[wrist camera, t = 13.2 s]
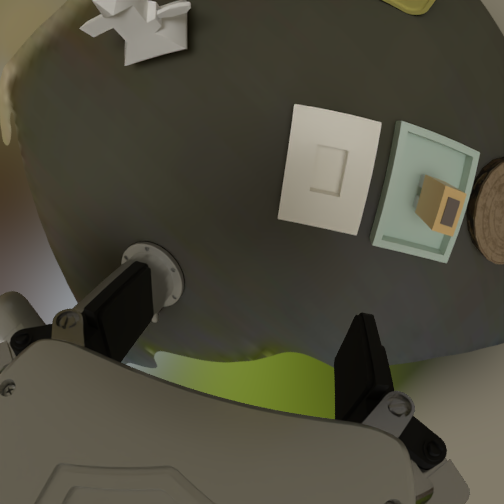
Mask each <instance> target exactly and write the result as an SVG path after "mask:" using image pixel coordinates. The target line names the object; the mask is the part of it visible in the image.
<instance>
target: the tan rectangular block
mask: <svg viewBox="0 0 504 504" xmlns="http://www.w3.org/2000/svg"><path fill="white" fill-rule="evenodd" d="M419 187H421V188H422V190H421V193H420V196H419V195H416V197H415V200H414V204H413V207H414V208H415V209H416V211H415V213H416V214H417V215H418V216H419V217H420V218H421V219H422V220H423V221H424V222H425V223H426V224H427V225H428V227H429V228H430V229H431V230H433V231H436V232H439V233H442V234H446V235H449V236H452V237H453V235H454V232H455V229H456V227H457V224H458V221H459V218H460V215H461V212H462V208H463V205H464V202H465V198H466V195H467V194H466V193H464V192H463V191H461V190H459V189H457V188H456V187H454V186H452V185H450V184H448V183H447V182H445V181H442V180H440V179H437V178H434V177H431V176H429V175H426V174H425V175H422V174H421V178H420V182H419Z"/></svg>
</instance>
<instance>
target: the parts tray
mask: <svg viewBox="0 0 504 504" xmlns="http://www.w3.org/2000/svg"><path fill="white" fill-rule="evenodd" d="M479 155H480V152H478V151H476V150H474V149H471V148H469V147H467V146H465V145H463V144H461V143H458V142H456V141H454V140H452V139H449V138H447V137H444V136H442V135H439V134H437V133H434V132H432V131H429V130H427V129H424V128H421V127H418V126H415V125H413V124H410V123H407V122H404V121H396V123H395V130H394V135H393V141H392V146H391V152H390V157H389V162H388V166H387V171H386V175H385V180H384V184H383V188H382V192H381V196H380V200H379V204H378V208H377V212H376V216H375V219H374V223H373V226H372V230H371V233H370V237H369V238H370V241H371V243H372V245H373V246H378V247H382V248H386V249H391V250H395V251H399V252H403V253H407V254H411V255H416V256H420V257H424V258H428V259H432V260H436V261H440V262H443V263H447V261H448V259H449V256H450V254H451V251H452V248H453V246H454V243H455V241H456V238H457V235H458V232H459V229H460V226H461V223H462V220H463V217H464V214H465V211H466V208H467V204H468V201H469V197H470V194H471V190H472V186H473V182H474V178H475V174H476V169H477V165H478V160H479ZM421 174H422V175H425V174H426V175H429V176H431V177H434V178H437V179H440V180H442V181H445V182H447V183H448V184H450V185H452V186H454V187H456V188H457V189H459V190H461V191H463V192H464V193H466V194H467V195H466V198H465V202H464V205H463V208H462V212H461V215H460V218H459V221H458V224H457V227H456V229H455V232H454V235H453V237H452V236H449V235H446V234H442V233H439V232H436V231H433V230H431V229H430V228H429V227H428V225H427V224H426V223H425V222H424V221H423V220H422V219H421V218H420V217H419V216H418V215H417V214H416V213H415V211H416V209H415V208H414V207H413V204H414V200H415V197H416V195H419V196H420V193H421V190H422V188H421V187H419V182H420V178H421Z"/></svg>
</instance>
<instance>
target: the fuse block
mask: <svg viewBox="0 0 504 504" xmlns="http://www.w3.org/2000/svg"><path fill="white" fill-rule="evenodd" d="M381 124H382V123H380V122H377V121H373V120H370V119H366V118H362V117H358V116H354V115H349V114H345V113H341V112H336V111H331V110H326V109H321V108H316V107H310V106H304V105H298V104H294V110H293V117H292V125H291V132H290V139H289V146H288V153H287V160H286V167H285V173H284V180H283V187H282V193H281V200H280V206H279V212H278V219H281V220H286V221H291V222H296V223H301V224H306V225H310V226H315V227H320V228H325V229H329V230H334V231H339V232H343V233H348V234H352V235H357V233H358V229H359V225H360V222H361V218H362V214H363V210H364V206H365V202H366V198H367V194H368V190H369V185H370V181H371V176H372V172H373V167H374V162H375V157H376V152H377V147H378V141H379V136H380V130H381Z"/></svg>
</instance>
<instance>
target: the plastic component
mask: <svg viewBox="0 0 504 504" xmlns="http://www.w3.org/2000/svg"><path fill="white" fill-rule="evenodd" d="M383 1H385V2H387V3H389V4H390V5H392V6H394V7H396V8H398V9H400V10H402V11H403V12H405V13H408V14H412V15H421V14H424V13H425V12H427V11H428V10H429V8H430V7H431V6H432V4H433V3H434V2H435V0H383Z"/></svg>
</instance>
